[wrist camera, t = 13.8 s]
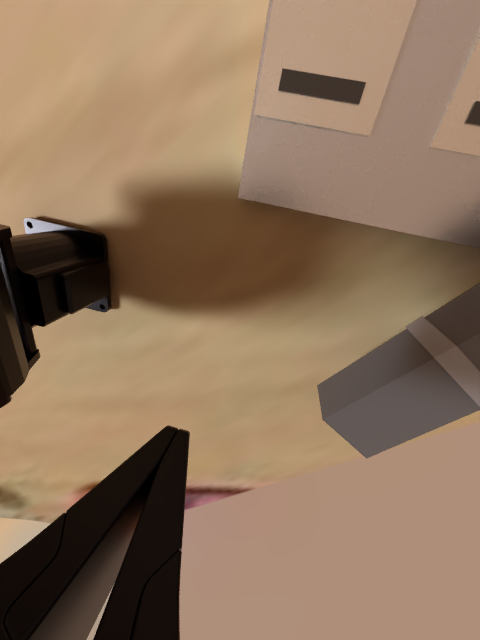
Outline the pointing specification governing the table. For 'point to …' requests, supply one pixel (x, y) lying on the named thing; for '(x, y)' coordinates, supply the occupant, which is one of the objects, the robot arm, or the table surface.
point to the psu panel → (370, 114)
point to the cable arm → (409, 380)
